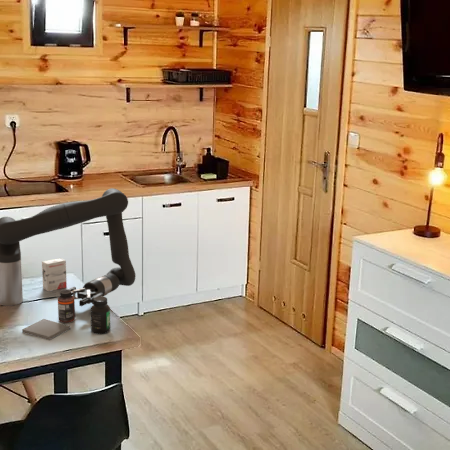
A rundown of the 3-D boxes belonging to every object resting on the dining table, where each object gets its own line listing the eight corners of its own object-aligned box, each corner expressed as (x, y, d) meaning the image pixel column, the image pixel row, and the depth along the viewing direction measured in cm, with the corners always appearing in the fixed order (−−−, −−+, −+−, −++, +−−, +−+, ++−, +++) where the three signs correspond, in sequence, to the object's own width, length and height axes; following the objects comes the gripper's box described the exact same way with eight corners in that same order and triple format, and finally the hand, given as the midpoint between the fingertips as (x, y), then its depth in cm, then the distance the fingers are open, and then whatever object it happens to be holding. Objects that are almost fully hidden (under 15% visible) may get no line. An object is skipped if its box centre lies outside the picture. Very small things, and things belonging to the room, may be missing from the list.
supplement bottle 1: (68, 315, 262) (67, 287, 259) (78, 320, 258) (77, 291, 255) (55, 320, 257) (54, 291, 254) (65, 324, 254) (64, 295, 251)
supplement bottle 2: (113, 332, 249) (113, 300, 246) (95, 336, 245) (95, 303, 242) (105, 325, 255) (105, 294, 252) (87, 329, 251) (87, 297, 248)
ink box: (61, 284, 294) (60, 257, 291) (67, 287, 291) (66, 260, 288) (42, 288, 289) (41, 260, 286) (47, 291, 285) (46, 264, 282)
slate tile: (22, 332, 246) (22, 329, 246) (43, 321, 256) (43, 318, 255) (49, 339, 241) (49, 336, 241) (70, 328, 251) (70, 325, 250)
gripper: (82, 275, 275) (55, 288, 260) (112, 282, 268) (86, 295, 254) (83, 294, 276) (55, 307, 262) (113, 301, 270) (86, 314, 256)
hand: (70, 301), depth 258 cm, fingers open, 8 cm apart
